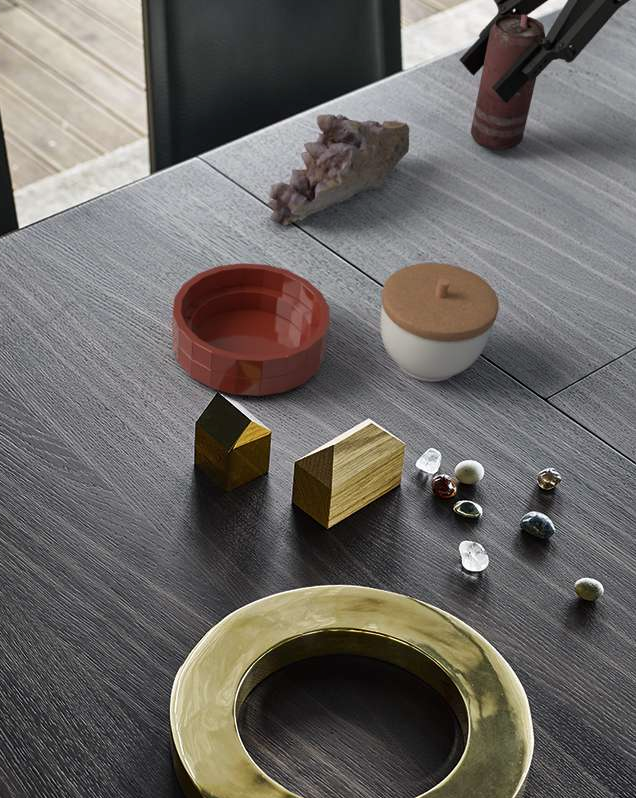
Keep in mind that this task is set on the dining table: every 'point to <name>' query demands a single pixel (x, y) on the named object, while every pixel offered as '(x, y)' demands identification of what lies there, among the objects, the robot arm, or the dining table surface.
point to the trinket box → (436, 319)
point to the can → (506, 45)
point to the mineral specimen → (340, 165)
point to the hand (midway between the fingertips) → (482, 81)
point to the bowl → (250, 329)
